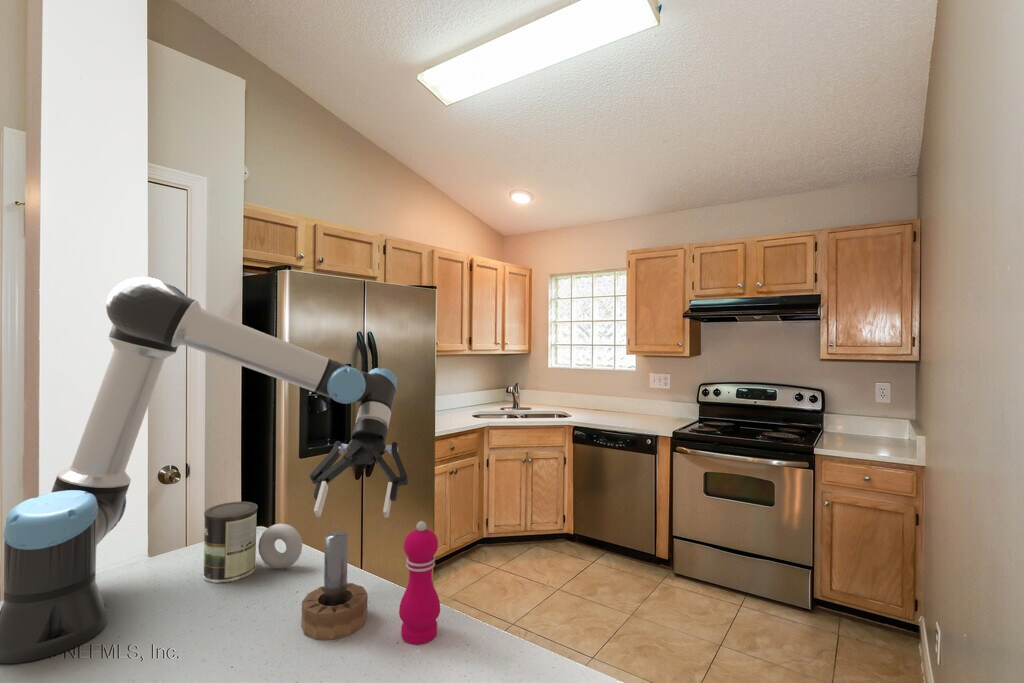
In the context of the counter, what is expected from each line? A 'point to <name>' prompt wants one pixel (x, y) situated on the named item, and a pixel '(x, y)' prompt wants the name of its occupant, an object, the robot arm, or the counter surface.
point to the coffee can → (230, 541)
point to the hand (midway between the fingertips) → (351, 514)
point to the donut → (269, 550)
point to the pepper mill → (420, 588)
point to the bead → (334, 614)
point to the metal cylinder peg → (335, 568)
